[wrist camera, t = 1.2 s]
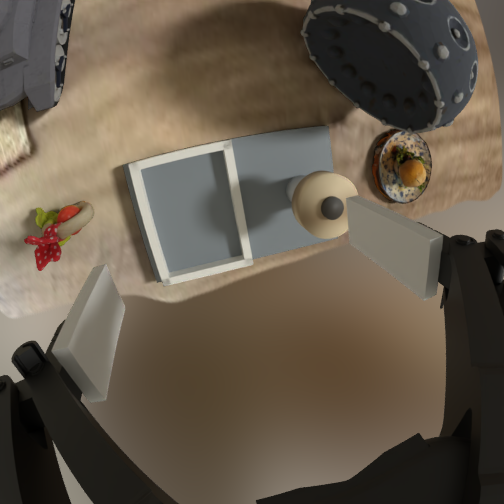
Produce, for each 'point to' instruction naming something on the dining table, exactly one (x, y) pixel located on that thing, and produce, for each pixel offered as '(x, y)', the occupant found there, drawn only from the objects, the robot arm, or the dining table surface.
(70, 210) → the bird rattle
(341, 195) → the wheel
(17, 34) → the toy tank
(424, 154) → the burger
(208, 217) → the board
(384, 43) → the dotted grey bowl
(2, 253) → the dining table surface
